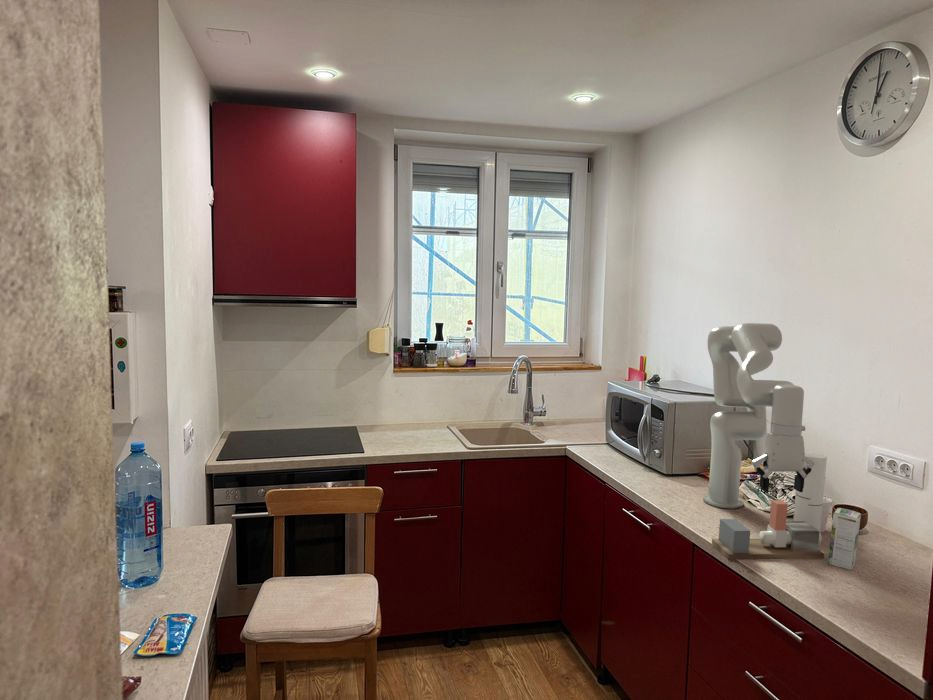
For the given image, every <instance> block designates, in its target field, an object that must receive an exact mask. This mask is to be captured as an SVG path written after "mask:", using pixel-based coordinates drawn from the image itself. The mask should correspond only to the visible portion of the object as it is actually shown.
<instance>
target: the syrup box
mask: <svg viewBox="0 0 933 700" xmlns="http://www.w3.org/2000/svg"><path fill="white" fill-rule="evenodd" d="M861 516H862V513H860V512H858V511H855V510H851V509H849V508H842V507H837V508H836V510H835V511H834V512H833V513H832V523H831V529H830V530H831V531H830V540H829V547H828V557H827V564H828V565H830V566H834V567H838V568H841V569H846V570H849V571H850V570H851V571H852V570H853V568H854V567H855V564H856V559H857V552H858V543H859V542H858V541H859V533H860V525H861V518H862V517H861Z"/></svg>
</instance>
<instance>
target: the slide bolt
mask: <svg viewBox="0 0 933 700" xmlns="http://www.w3.org/2000/svg"><path fill="white" fill-rule="evenodd" d="M788 506H789V505H788V503H787V502H786V501H784V500H782V499H772V500H770V510H769V524H767V527H766V530H761V531H759V534H758V537H759V538H758V539H760V542H761V543H762V544H772V545H773V546H774V547H786V544H791V541H792V533H791V532H790V531H786V530H785V529H786V521H787V515H788ZM822 541H823V538H822V535H821V532H819V543H818V545H821V544H822Z"/></svg>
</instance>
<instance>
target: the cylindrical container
mask: <svg viewBox="0 0 933 700" xmlns="http://www.w3.org/2000/svg"><path fill="white" fill-rule="evenodd" d="M805 457H807V458H808V459H810V460H812V461H814V462H815V464H814V466H813V468H812V469H811V472H810V473H809V474H808V475H807V477H806V478H804V488H803V492H799V491H797V490H795V496H794V508H793V509H794V510H793V520H792V521H805V522H806V523H808V524H809V525H811V526H812V527H814V528H815V529H817V530H818V531H820V526H821V515H822V505H823V497H824V492H825V483H826V481H825V480H826V472H827V471H826V470H827V460H828V459H827V458H828V456H827V455H825V454H824V453H820V452H816V451H811V450H810V451H808V450H807V451H805ZM806 464H807V463H806V462H804V467H806Z"/></svg>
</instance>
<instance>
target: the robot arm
mask: <svg viewBox="0 0 933 700" xmlns="http://www.w3.org/2000/svg"><path fill="white" fill-rule="evenodd" d="M782 343H783V334H782V332H781V329H780V328H779V327H778V326H777V325H775V324H773V323H757V322H755V323H754V322H752V323H751V322H746V323H745V322H744V323H740V324H738V325H737V326H736V325H735V326H732V325H731V326H728V325H727V326H725V325H724V326H717V327H714V328H712V329H711V330H710V331H709V333H708V336H707V351H708V354H709V358H710V360H711V365H712V376H713V377H712V378H713V382H712V383H713V397H714V401H715V403H716V405H718V406H720V407H725V408H726V407H728V408H729V407H730V408H746V410H747V411H742V410H741V411H738V410H736V411H735V410H721V411H717V412H715V413H713V414H712V416H711V417H710V420H709V421H710V422H709V424H710V426H709V427H710V434H711V435H710V436H711V447H710V448H711V452H710V453H711V454H710V464H709V465H710V466H709V467H710V468H709V480H708V484H707V488H708V493H705V494H704V495H703V498H702V499H703V501H704V502H705V503H706V504H708V505H710V506H713V507H715V508H722V509H733V510H734V509H739V508H742V507H743V506H744V501H743V499H742V498H740V497H739V496H740V495H739V494H740V484H741V483H740V482H741V481H740V480H741V471H742V469H741V468H742V450H741V449H740V447H739V446H738V445H737V443H736V441H759V440H762V439H763V438H764V437H765V439H764V442H763V446H762V447H763V448H762V453H761V456H758V457H757V458H754V459H753V460H751V464H752V466H753V467H754V471H755V472H756V473H757V474H758V475H759V488H760V491H761V490H762V491H763V492H764V493H769V491H770V480H771V479H770V478H769V476H770V475H771V474H772V473H773V472H781V473H785V472H786V473H787V472H788V473H789V472H790V473H791V472H792V473H793V472H794V473H795V475H794V479H793V481H794V483H793V489H794V491H796V490H797V491H799V492H803V488H804V478H806V477H807V475H808V474H809V473H810V472H811V469H812V468H813V466H814V464H815V462H814V461H812V460H810V459H808V458H807V457H805V441H804V436H803V435H802V432H804V431H806V426H805V425H803V415H804V414H803V412H804V398H805V391H804V389H803V387H802V386H799V385H795V384H794V383H793V382H791V381H788V380H775V379H774V380H773V379H771V380H770V379H754V378H752V376H753V375H755V374H758V373H760V372H763V371H765V370H766V369H768V368H769V367H770V366H771V365H772V363H773V360H774V356H773V353H772V352H774V351H776V350H778V349H779V348H780V347H781V346H782ZM735 352H736V353H738V355H739V358H740V360H741V362H742V363H741V364H740V363H739V361H738V359H737V358H736V357H735V356H734V355H733V354H732V353H735ZM766 407H769V408H771V416H770V418H771V419H770V431H769V432H767V409H766ZM766 432H767V433H766ZM804 462H806V463H807V464H806V467H804ZM761 466H762V468H761Z"/></svg>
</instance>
